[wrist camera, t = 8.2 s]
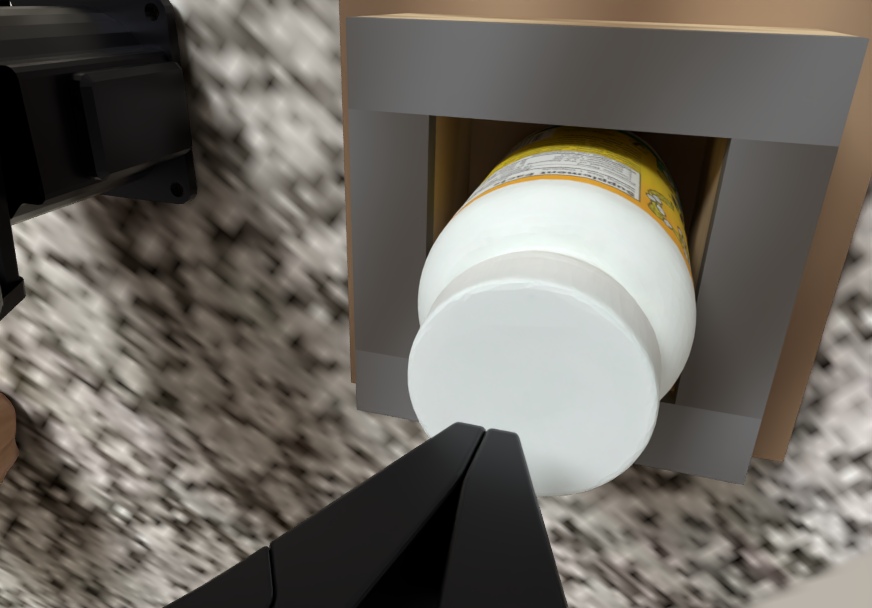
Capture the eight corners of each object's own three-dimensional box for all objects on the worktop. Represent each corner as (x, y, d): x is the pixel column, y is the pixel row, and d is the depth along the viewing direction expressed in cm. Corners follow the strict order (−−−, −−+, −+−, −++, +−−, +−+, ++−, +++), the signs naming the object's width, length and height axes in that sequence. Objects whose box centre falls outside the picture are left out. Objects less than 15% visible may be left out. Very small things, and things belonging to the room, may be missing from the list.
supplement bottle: (501, 103, 18) (375, 198, 10) (706, 134, 17) (762, 271, 9) (476, 282, 20) (358, 482, 12) (655, 319, 19) (659, 567, 11)
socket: (359, 371, 24) (296, 453, 20) (348, -70, 18) (253, -91, 14) (778, 446, 21) (812, 566, 16) (933, -67, 15) (1050, -94, 10)
